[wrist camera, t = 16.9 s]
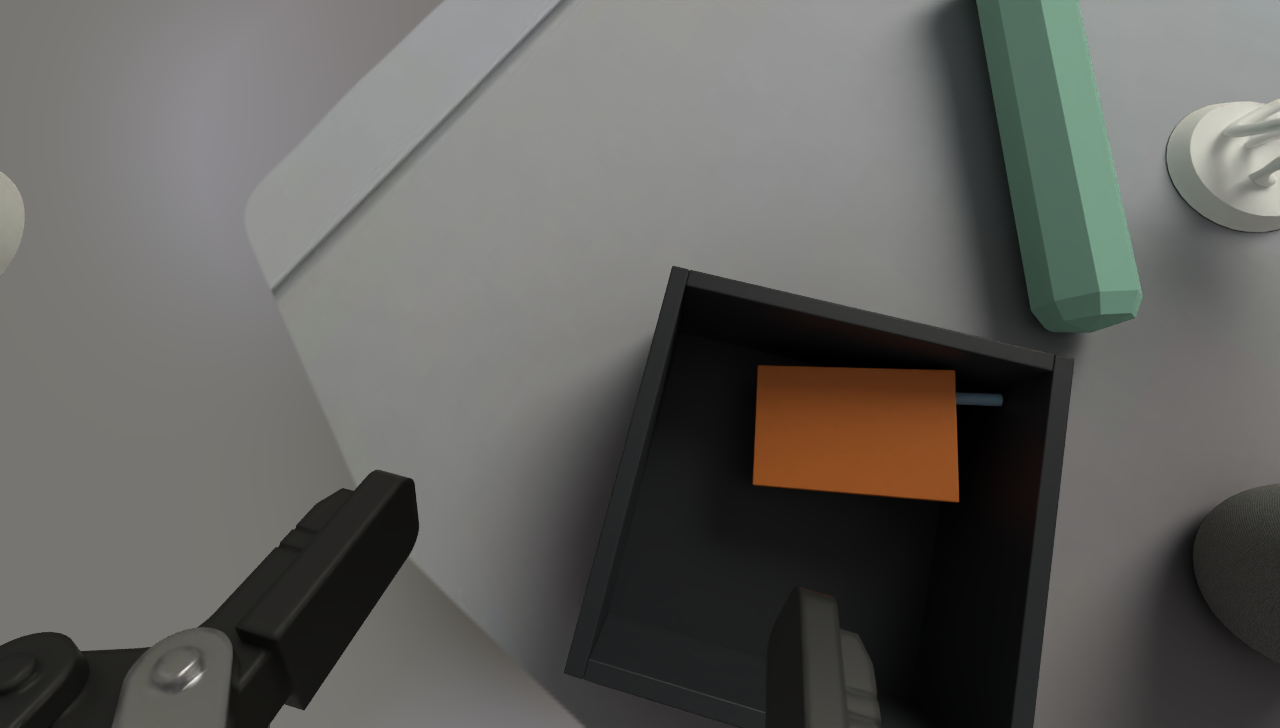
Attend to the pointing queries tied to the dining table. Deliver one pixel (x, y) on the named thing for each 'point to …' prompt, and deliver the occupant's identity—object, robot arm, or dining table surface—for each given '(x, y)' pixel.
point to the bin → (823, 521)
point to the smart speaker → (1243, 566)
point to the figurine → (1230, 164)
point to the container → (1059, 166)
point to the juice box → (860, 430)
